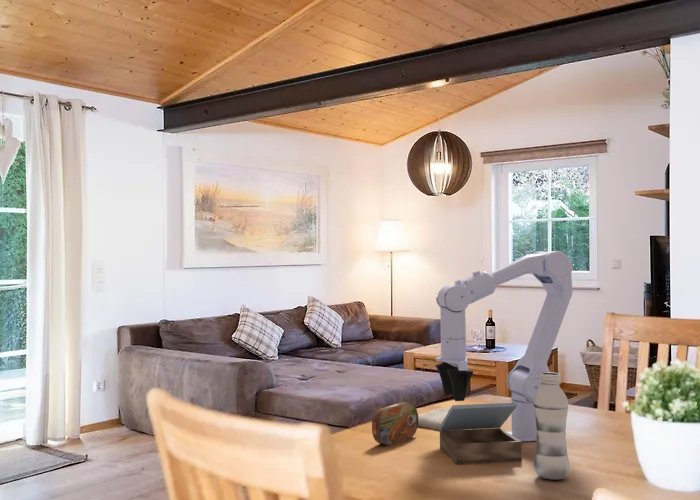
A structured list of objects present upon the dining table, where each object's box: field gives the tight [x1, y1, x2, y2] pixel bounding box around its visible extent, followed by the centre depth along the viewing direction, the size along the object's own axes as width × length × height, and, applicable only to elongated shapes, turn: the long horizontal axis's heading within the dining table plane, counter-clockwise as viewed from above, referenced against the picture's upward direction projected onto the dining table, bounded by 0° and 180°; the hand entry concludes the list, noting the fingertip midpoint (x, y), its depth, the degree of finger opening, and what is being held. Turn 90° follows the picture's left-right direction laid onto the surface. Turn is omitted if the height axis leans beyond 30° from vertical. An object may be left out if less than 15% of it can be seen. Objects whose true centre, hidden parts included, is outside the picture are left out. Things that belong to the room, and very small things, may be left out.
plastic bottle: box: [533, 371, 571, 481], centre depth 140 cm, size 6×7×20 cm
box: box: [439, 427, 523, 466], centre depth 156 cm, size 14×12×4 cm
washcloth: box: [418, 406, 452, 431], centre depth 186 cm, size 12×18×3 cm, turn 141°
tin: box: [371, 402, 419, 447], centre depth 168 cm, size 15×3×8 cm, turn 139°
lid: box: [439, 402, 517, 432], centre depth 157 cm, size 14×12×1 cm
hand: (454, 397), depth 167 cm, fingers open, 7 cm apart
